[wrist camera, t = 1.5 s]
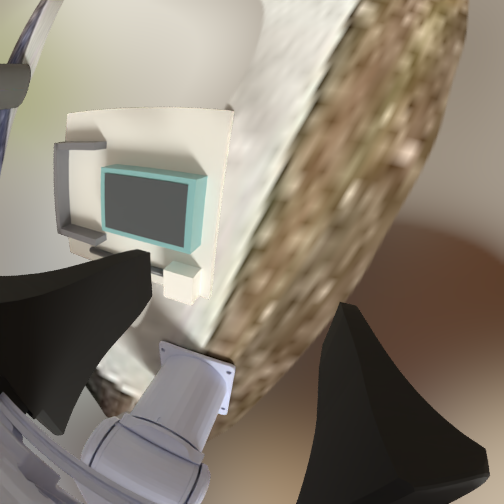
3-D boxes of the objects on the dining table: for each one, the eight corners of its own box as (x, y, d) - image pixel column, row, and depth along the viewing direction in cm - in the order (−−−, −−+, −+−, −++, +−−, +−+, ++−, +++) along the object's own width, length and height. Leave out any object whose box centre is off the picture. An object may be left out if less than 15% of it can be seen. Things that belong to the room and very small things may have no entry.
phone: (207, 175, 17) (195, 180, 16) (200, 244, 19) (189, 254, 18) (116, 164, 19) (100, 167, 17) (115, 223, 21) (101, 230, 19)
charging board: (234, 111, 16) (223, 107, 14) (211, 295, 22) (201, 310, 20) (72, 113, 18) (54, 113, 16) (74, 250, 24) (60, 258, 22)
